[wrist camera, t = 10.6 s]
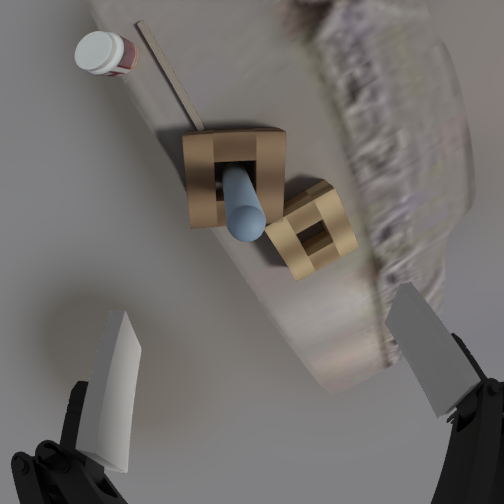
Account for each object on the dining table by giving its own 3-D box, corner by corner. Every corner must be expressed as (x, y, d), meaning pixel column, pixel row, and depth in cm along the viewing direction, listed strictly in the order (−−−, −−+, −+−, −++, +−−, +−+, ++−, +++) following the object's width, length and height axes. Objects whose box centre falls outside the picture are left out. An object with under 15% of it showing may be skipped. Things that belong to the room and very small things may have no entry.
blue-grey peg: (221, 161, 32) (227, 212, 19) (246, 161, 32) (270, 212, 19) (221, 184, 34) (227, 250, 21) (245, 184, 34) (267, 249, 21)
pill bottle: (126, 33, 21) (100, 18, 14) (146, 59, 24) (125, 48, 17) (95, 59, 22) (62, 53, 15) (115, 84, 25) (85, 83, 18)
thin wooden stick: (137, 24, 21) (136, 23, 21) (143, 20, 21) (142, 19, 20) (199, 131, 30) (199, 132, 29) (205, 128, 30) (205, 128, 29)
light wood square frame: (259, 216, 36) (263, 228, 34) (324, 179, 35) (334, 188, 32) (291, 267, 42) (297, 281, 39) (348, 235, 40) (358, 247, 37)
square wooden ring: (185, 132, 29) (182, 136, 26) (278, 128, 31) (286, 131, 28) (192, 216, 35) (190, 228, 32) (276, 211, 36) (282, 222, 33)
